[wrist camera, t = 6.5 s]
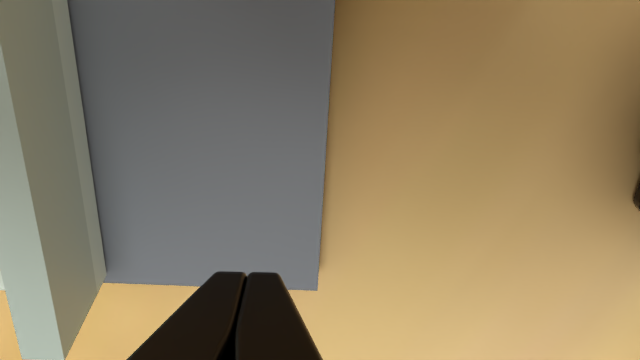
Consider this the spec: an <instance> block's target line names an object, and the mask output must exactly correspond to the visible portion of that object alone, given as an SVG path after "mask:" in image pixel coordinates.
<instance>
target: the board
mask: <svg viewBox="0 0 640 360" xmlns="http://www.w3.org/2000/svg"><path fill="white" fill-rule="evenodd" d="M67 3H68V10H69V17H70V24H71V31H72V38H73V45H74V52H75V59H76V66H77V73H78V80H79V87H80V93H81V100H82V107H83V114H84V121H85V128H86V135H87V142H88V149H89V156H90V163H91V170H92V177H93V184H94V191H95V198H96V205H97V212H98V218H99V225H100V232H101V239H102V246H103V253H104V260H105V267H106V274H107V275H106V277H105V279H104V281H103V283H126V284H153V285H179V286H202V285H203V284H204V283H205V282H206V281H207V280H208V279H209V278H210V277H211V276H212V275H213V274H214V273H216V272H218V271H235V272H244V273H246V275H247V276H248V274H249V273H251V272H276V273H278V274H279V275H280V276H281V278H282V280H283V282H284V284H285V286H286V288H287V290H314V291H317V288H318V272H319V256H320V240H321V223H322V207H323V191H324V175H325V158H326V142H327V126H328V110H329V93H330V77H331V61H332V45H333V28H334V12H335V0H67Z"/></svg>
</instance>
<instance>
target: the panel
mask: <svg viewBox="0 0 640 360" xmlns="http://www.w3.org/2000/svg"><path fill="white" fill-rule="evenodd" d="M106 275H107V274H106V267H105V260H104V253H103V246H102V239H101V232H100V225H99V218H98V212H97V205H96V198H95V191H94V184H93V177H92V170H91V163H90V156H89V149H88V142H87V135H86V128H85V121H84V114H83V107H82V100H81V93H80V87H79V80H78V73H77V66H76V59H75V52H74V45H73V38H72V31H71V24H70V17H69V10H68V3H67V0H0V290H5V292H6V296H7V300H8V304H9V308H10V312H11V316H12V320H13V324H14V328H15V332H16V336H17V340H18V344H19V349H20V353H21V357H22V359H31V360H65V359H66V357H67V355H68V353H69V350H70V348H71V346H72V344H73V342H74V340H75V338H76V336H77V334H78V332H79V330H80V328H81V326H82V324H83V322H84V320H85V318H86V316H87V314H88V312H89V310H90V308H91V306H92V304H93V302H94V300H95V298H96V296H97V294H98V292H99V289H100V287H101V285H102V283H103V281H104V279H105V277H106Z"/></svg>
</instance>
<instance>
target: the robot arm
mask: <svg viewBox="0 0 640 360" xmlns="http://www.w3.org/2000/svg"><path fill="white" fill-rule="evenodd" d="M634 204H635V207H636V208H637V209H638V210H639V211H640V183H639V185H638V188H637V191H636V194H635V197H634ZM127 360H323V359H322V357H321V355H320V353H319V351H318V349H317V347H316V345H315V343H314V341H313V339H312V337H311V335H310V333H309V331H308V329H307V328H306V326H305V324H304V322H303V320H302V318H301V316H300V314H299V312H298V310H297V308H296V306H295V304H294V302H293V300H292V298H291V296H290V294H289V292H288V290H287V288H286V286H285V284H284V282H283V280H282V278H281V276H280V275H279V274H278V273H276V272H251V273H249V274H248V276H247V275H246V273H244V272H235V271H218V272H216V273H214V274H213V275H212V276H211V277H210V278H209V279H208V280H207V281H206V282H205V283H204V284H203V285H202V286H201V287H200V288H199V289H198V290H197V291H196V292H195V293H193V294H192V295H191V296H190V297H189V298H188V299H187V300H186V301H185V302H184V303H183V304H182V305H181V306H180V307H179V308H178V309H177V310H176V311H175V312H174V313H173V314H172V315H171V316H170V317H169V318H168V319H167V320H166V321H165V322H164V323H163V324H162V325H161V326H160V327H159V328H158V329H157V330H156V331H155V332H154V333H153V334H152V335H151V336H150V337H149V338H148V339H147V340H146V341H145V342H144V343H143V344H142V345H141V346H140V347H139V348H138V349H137V350H136V351H135V352H134V353H133V354H132V355H131V356H130V357H129V358H128V359H127Z"/></svg>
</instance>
